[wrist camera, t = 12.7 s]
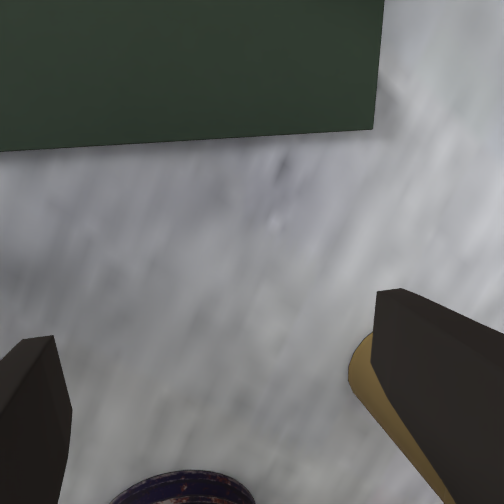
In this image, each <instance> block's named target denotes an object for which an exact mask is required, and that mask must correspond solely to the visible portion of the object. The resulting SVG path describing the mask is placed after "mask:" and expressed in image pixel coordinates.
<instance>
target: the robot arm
mask: <svg viewBox="0 0 504 504" xmlns="http://www.w3.org/2000/svg"><path fill="white" fill-rule="evenodd" d="M370 363H371V365H372V368H373V370H374V372H375V374H376V376H377V378H378V381H379V383H380V385H381V387H382V389H383V391H384V393H385V395H386V397H387V399H388V400H389V402H390V403H391V405H392V407H393V408H394V410H395V411H396V413H397V414H398V416H399V417H400V419H401V420H402V422H403V423H404V425H405V426H406V428H407V429H408V431H409V432H410V434H411V435H412V437H413V438H414V440H415V441H416V443H417V444H418V446H419V447H420V449H421V450H422V452H423V453H424V455H425V456H426V458H427V459H428V461H429V462H430V464H431V465H432V467H433V468H434V470H435V471H436V473H437V474H438V476H439V477H440V479H441V480H442V482H443V483H444V485H445V487H446V488H447V490H448V492H449V493H450V495H451V497H452V498H453V500H454V501H455V503H456V504H504V334H503V333H501V332H498V331H496V330H494V329H491V328H489V327H487V326H485V325H483V324H480V323H478V322H476V321H474V320H472V319H469V318H467V317H465V316H463V315H461V314H459V313H457V312H454V311H452V310H450V309H448V308H446V307H444V306H442V305H440V304H437V303H435V302H433V301H431V300H429V299H427V298H424V297H422V296H420V295H417V294H415V293H413V292H410V291H408V290H405V289H402V288H399V289H392V290H384V291H377V296H376V306H375V316H374V327H373V337H372V347H371V357H370ZM71 422H72V406H71V403H70V399H69V395H68V391H67V387H66V383H65V379H64V375H63V371H62V367H61V363H60V359H59V355H58V351H57V347H56V343H55V339H54V335H50V336H43V337H36V338H28V339H22V340H21V341H20V342H19V343H18V344H17V345H16V346H15V347H14V348H13V349H12V350H11V351H10V352H9V353H8V354H7V355H6V356H5V357H4V358H3V359H2V360H1V361H0V504H58V499H59V495H60V491H61V486H62V482H63V477H64V473H65V468H66V463H67V459H68V453H69V443H70V434H71Z"/></svg>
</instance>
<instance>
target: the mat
mask: <svg viewBox="0 0 504 504" xmlns="http://www.w3.org/2000/svg"><path fill="white" fill-rule="evenodd" d="M384 1H385V0H0V152H5V151H22V150H39V149H55V148H72V147H89V146H106V145H122V144H139V143H156V142H173V141H189V140H206V139H223V138H240V137H256V136H273V135H290V134H307V133H323V132H340V131H357V130H372V129H373V123H374V112H375V101H376V89H377V78H378V67H379V56H380V45H381V34H382V23H383V12H384Z"/></svg>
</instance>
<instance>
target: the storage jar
mask: <svg viewBox="0 0 504 504" xmlns="http://www.w3.org/2000/svg"><path fill="white" fill-rule="evenodd" d="M110 504H255V501H254V499H253V497H252V495H251V494H250V493H249V491H248V490H247V489H246V488H245V487H244V486H243V485H241V484H240V483H238V482H237V481H235V480H233V479H231V478H229V477H227V476H224V475H221V474H217V473H213V472H206V471H179V472H171V473H167V474H163V475H159V476H155V477H153V478H150V479H147V480H144V481H142V482H140V483H138V484H136V485H134V486H132V487H130V488H129V489H127V490H126V491H124V492H123V493H121V494H120V495H119V496H118V497H116V498H115V499H114V500H113V501H112V502H111V503H110Z"/></svg>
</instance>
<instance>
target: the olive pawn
mask: <svg viewBox="0 0 504 504" xmlns="http://www.w3.org/2000/svg"><path fill="white" fill-rule="evenodd" d="M372 337H373V332H372V333H371V334H370V335H369V336H367V337H366V338H365V339H364V340H363V341H362V343H361V344H360V345H359V347H358V348H357V349H356V351H355V352H354V354H353V357H352V359H351V362H350V364H349V371H348V381H349V384H350V386H351V388H352V391H353V393H354V394H355V395H356V396H357V398H358V399H359V400H360V401H361V402H362V404H363V405H364V406H365V407H366V409H367V410H368V411H369V412H370V413H371V415H372V416H373V417H374V418H375V420H376V421H377V422H378V423H379V424H380V426H381V427H382V428H383V429H384V430H385V432H386V433H387V434H388V435H389V437H390V438H391V439H392V440H393V441H394V443H395V444H396V445H397V446H398V448H399V449H400V450H401V451H402V452H403V454H404V455H405V456H406V457H407V458H408V460H409V461H410V462H411V463H412V465H413V466H414V467H415V468H416V469H417V471H418V472H419V473H420V474H421V476H422V477H423V478H424V479H425V480H426V482H427V483H428V484H429V485H430V486H431V488H432V489H433V490H434V491H435V493H436V494H437V495H438V496H439V497H440V499H441V500H442V501H443V502H444V504H456V503H455V501H454V500H453V498H452V497H451V495H450V493H449V492H448V490H447V488H446V487H445V485H444V483H443V482H442V480H441V479H440V477H439V476H438V474H437V473H436V471H435V470H434V468H433V467H432V465H431V464H430V462H429V461H428V459H427V458H426V456H425V455H424V453H423V452H422V450H421V449H420V447H419V446H418V444H417V443H416V441H415V440H414V438H413V437H412V435H411V434H410V432H409V431H408V429H407V428H406V426H405V425H404V423H403V422H402V420H401V419H400V417H399V416H398V414H397V413H396V411H395V410H394V408H393V407H392V405H391V403H390V402H389V400H388V399H387V397H386V395H385V393H384V391H383V389H382V387H381V385H380V383H379V381H378V378H377V376H376V374H375V372H374V370H373V368H372V365H371V363H370V357H371V347H372Z"/></svg>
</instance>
